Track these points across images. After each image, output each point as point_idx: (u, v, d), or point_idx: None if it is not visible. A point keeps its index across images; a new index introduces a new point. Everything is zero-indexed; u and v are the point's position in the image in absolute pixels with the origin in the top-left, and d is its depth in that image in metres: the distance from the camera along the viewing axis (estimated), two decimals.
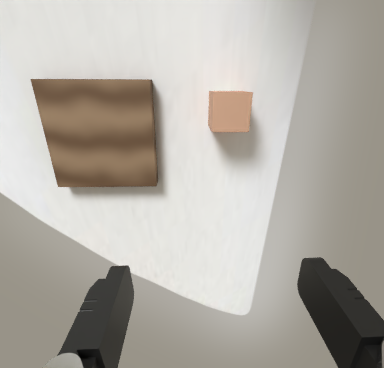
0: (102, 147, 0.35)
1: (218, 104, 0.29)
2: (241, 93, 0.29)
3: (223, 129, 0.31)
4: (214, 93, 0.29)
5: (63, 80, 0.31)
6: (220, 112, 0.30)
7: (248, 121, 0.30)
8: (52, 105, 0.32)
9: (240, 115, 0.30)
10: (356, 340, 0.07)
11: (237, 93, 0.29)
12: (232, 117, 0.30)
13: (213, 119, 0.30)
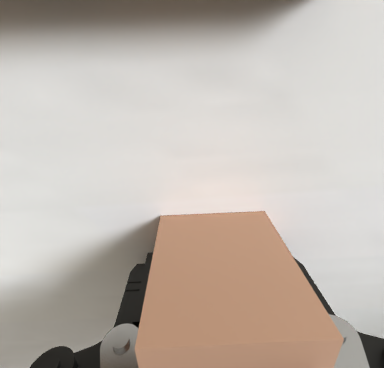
0: None
1: (280, 360, 0.06)
2: None
3: None
4: (336, 343, 0.05)
5: None
6: None
7: None
8: None
9: None
10: None
11: None
12: None
13: (204, 348, 0.05)
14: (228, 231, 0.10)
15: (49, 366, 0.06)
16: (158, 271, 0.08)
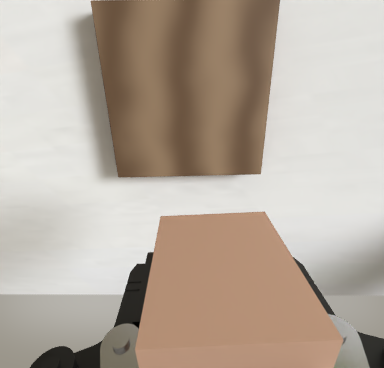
0: (173, 102, 0.22)
1: (280, 360, 0.06)
2: None
3: None
4: (336, 343, 0.06)
5: (272, 56, 0.21)
6: None
7: None
8: (239, 28, 0.20)
9: None
10: None
11: None
12: None
13: (204, 349, 0.06)
14: (228, 232, 0.10)
15: (49, 366, 0.06)
16: (158, 272, 0.08)
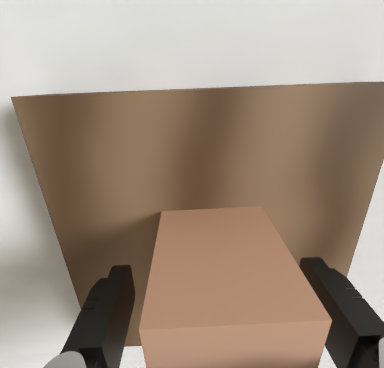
0: None
1: (274, 340, 0.06)
2: None
3: (158, 366, 0.07)
4: (325, 324, 0.06)
5: (374, 181, 0.11)
6: (233, 350, 0.06)
7: None
8: (315, 137, 0.10)
9: None
10: (353, 339, 0.07)
11: None
12: None
13: (202, 329, 0.06)
14: (226, 225, 0.10)
15: None
16: (160, 261, 0.08)
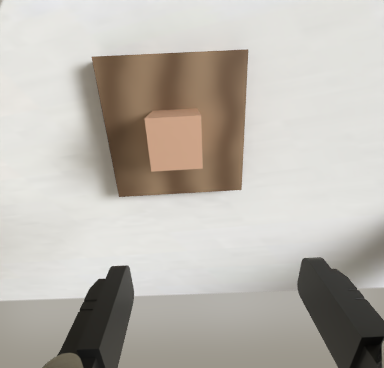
0: None
1: (185, 124, 0.20)
2: (200, 154, 0.22)
3: (150, 136, 0.21)
4: (199, 117, 0.20)
5: (244, 95, 0.25)
6: (173, 128, 0.20)
7: (165, 169, 0.22)
8: (215, 74, 0.24)
9: (173, 157, 0.22)
10: (356, 340, 0.07)
11: (200, 149, 0.21)
12: (168, 146, 0.21)
13: (163, 119, 0.20)
14: (179, 110, 0.24)
15: None
16: (151, 114, 0.22)
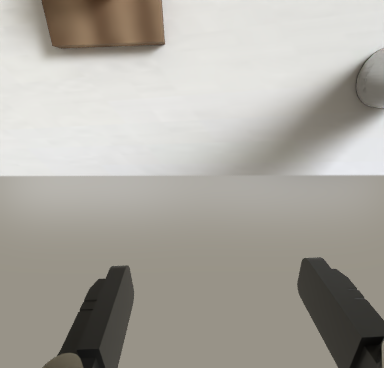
0: None
1: None
2: None
3: None
4: None
5: None
6: None
7: None
8: None
9: None
10: (356, 340, 0.07)
11: None
12: None
13: None
14: None
15: None
16: None
